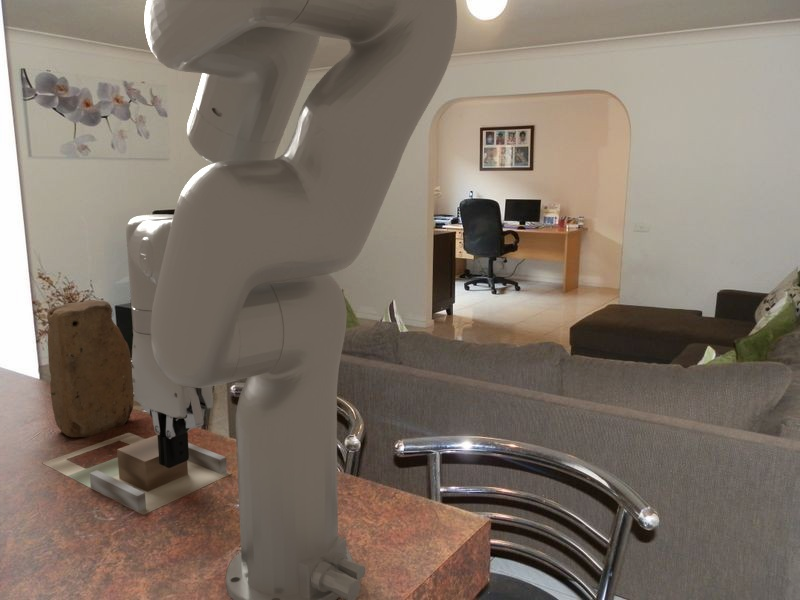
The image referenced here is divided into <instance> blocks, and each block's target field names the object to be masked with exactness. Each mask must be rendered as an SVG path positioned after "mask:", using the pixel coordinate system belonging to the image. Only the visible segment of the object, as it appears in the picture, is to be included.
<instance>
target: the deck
mask: <svg viewBox="0 0 800 600" xmlns="http://www.w3.org/2000/svg"><path fill="white" fill-rule="evenodd" d="M144 439H145V438H144V437H141V436H139V435H136V434H134V433H132V432H126V433H123V434H121V435H117V436H115V437H112V438H109V439H106V440H104V441H101V442H98V443H95V444H92V445H89V446H85V447H83V448H81V449H80V448H79V449H78V450H74V451H71V452H68V453H67V454H64V455H61V456H58V457H55V458H52V459H49V460H46V461H44V462H42V463H41V464H42V465H45V466H47V467H48V468H50V469H52V470H54V471H56V472H58V473H60V474H61V475H64V476H66V477H67V478H70V479H72V480H74V481H75V482H77V483H80V484H82V485H84V486H86V487H88V488H89V489H92V490H94V491H96V492H98V493H99V494H101V495H102V496H105V497H107V498H108V499H112V500H114V501H115V502H117V503H119V504H121V505H123V506H125V507H127V508H129V509H131V510H133V511H135V512H137V513H138V514H140V515H142V516H145V515H147V514H148V513H151V512H153V511H156V510H157V509H159V508H163V507H164V506H166V505H169V504H171V503H173V502H175V501H176V500H179V499H181V498H184V497H185V496H188V495H190V494H192V493H195V492H196V491H198V490H200V489H203V488H205V487H207V486H209V485H212V484H213V483H215V482H217V481H220V480H221V479H224V478H226V477H228V476H230V475H232V472H229V471H228V468H227V467H228V466H227V457H226V456H224V455H222V454H219V453H216V452H213V451H211V450H208V449H205V448H203V447H201V446H198V445H195V444H192V443H190V442H188V449H189V459H188V460H187V465H188V474H187V475H185V476H183V477H180V478H178V479H176V480H173V481H171V482H169V483H167V484H164V485H162V486H160V487H157V488H155V489H153V490H151V491H148V492H146V491H144V490H142V489H140V488H138V487H136V486H134V485H132V484H130V483H128V482H126V481H123V480H121V479H119V468H118V456H117V457H114V458H112V459H109V460H106V461H104V462H101V463H98V464H96V465H93V466H90V467H88V468H85V467H82V466H81V465H78V464H77V463H74V462H72V461H70V459H73V458H74V457H77V456H80V455H83V454H86V453H88V452H92V451H94V450H96V449H100V448H102V447H106V446H108V445H112V444H114V443H117V442H119V441H120V442H121V443H124V444H126V445H130V444H133V443H136V442H139V441H141V440H144Z"/></svg>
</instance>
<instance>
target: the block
mask: <svg viewBox="0 0 800 600" xmlns="http://www.w3.org/2000/svg"><path fill="white" fill-rule="evenodd" d="M112 314H113V308H112V306H111V304H110V303H109V302H108V301H105V300H97V299H88V300H84V301H81V302H78V301H77V302H70V303H65V304H62V305H57V306H54V307H51V308H50V309H48V311H47V314H46V320H47V323H48V326H49V327H48V330H47V353H48V354H47V356H48V357H47V358H48V367H49V374H50V387H49V388H50V398H51V404H52V411H53V416H54V420H55V423H56V426H57V428H58V429H59V430H60V431H61V432H62V433H63V434H64V435H66V436H67V437H70V438H87V437H91V436H95V435H97V434H100V433H103V432H107V431H109V430H112V429H115V428H119V427H121V426H124V425H125V424H126V423H127V421H128V420H130V418H131V414H132V412H133V409H134V401H135V400H134V399H135V396H134V390H133V379H132V356H131V351H130V348H129V344H128V342H127V341H126V340H125V338H124V336H123V334H122V332H121V330H120V328H119V326H117V325H116V323H115V322H114V320H113V317H112V316H113V315H112Z"/></svg>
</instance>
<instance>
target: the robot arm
mask: <svg viewBox="0 0 800 600" xmlns="http://www.w3.org/2000/svg"><path fill="white" fill-rule="evenodd" d="M144 8H145V9H144V29H145V36H146V39H147V44H148V46H149V48H150V51H151V52H152V54H153V55H154V57H155V58H156V60H157V61H158V62H159V63H160V64H162V65H163V66H165V67H166V68H168V69H171V70H174V71H178V72H185V73H194V74H195V73H196V74H201V77H200V81H199V85H198V87H197V91H196V95H195V99H194V102H193V105H192V108H191V113H190V115H189V118H188V121H187V126H186V127H187V128H186V133H187V138H188V141H189V143H190V145H191V146H192V148H193V150H194V151H195V153H197V154H198V155H199V156H200V157H201V158H202V159H204V160H206V161H207V162H208V163H209V165H206V166H205V167H202V168H201V169H200V170H199V171H197V172H196V173H195V174H194V175H193V176H192V177H191V178H190V179H189V180H188V182H187V183H186V184H185V185H184V187H183V189H182V190H181V193H180V195H179V197H178V199H177V202H176V205H175V209H174V213H173V214H169V213H166V214H161V213H160V214H142V215H137V216H134V217H132V218H131V219H130V220H129V221H128V222H127V224H126V229H125V230H126V233H125V234H126V248H127V251H126V252H127V262H128V263H127V264H128V277H129V278H128V281H129V293H130V294H129V296H130V307H131V322H132V334H133V336H132V345H131V346H132V349H131V365H132V379H133V395H134V399H135V401H136V402H137V403H138V404H139V405H141V409H143V410H144V411H145V412H146V413H147V414H149V416H150V417H151V418H152V424H153V425H152V426H153V429H154V432H155V434H156V435H158V451H159V464H160V465H163V466H165V467H167V468H171V467H174V466H176V465H178V464H181V463H183V462H185V461H187V460H188V459H189V449H188V443H189V434H188V433H189V432H191V430H192V429H196V428H198V427H201V426H203V425H204V424H205V423H204V417H203V413H202V410H203V411H204V410H205V411H207V410H211V409H212V408H213V405H214V404H213V403H214V397H213V395H214V394H213V387H214V386H219V385H224V384H229V383H232V382H236V381H240V380H245V379H246V380H245V382H244V384H243V387H242V390H241V391H240V395H239V398H238V401H237V406H236V411H235V413H236V414H235V443H236V444H235V445H236V462H237V463H236V466H237V469H236V471H237V485H238V486H237V489H238V490H237V491H238V492H237V493H238V508H239V509H238V511H239V515H238V516H239V530H240V531H239V534H240V536H239V537H240V551H239V552H238V553H237V554H236V555H234V557H232V560H231V561H230V562H229V564H228V566H227V568H226V571H225V572H226V573H225V583H226V584H225V585H226V590H227V593H228V595H229V596H230V598H231V599H232V600H338V599H339V598H341V599H344V600H356V599H357V598H358V597H359V595H360V593H361V589H362V585H361V581H362V580H363V578H364V577H365V574H366V570H367V568H366V566H364V565H363V564H361V563H358V562H356V561H354V558H353V556H352V554H351V552H350V551H349V550H348V548H347V538H344V537H343V536H340V535H339V523H338V522H339V521H338V520H339V519H338V518H339V517H338V515H339V513H338V512H339V511H338V509H339V505H338V500H339V499H338V498H339V497H338V440H337V439H338V438H337V437H338V435H337V434H338V433H337V430H338V412H337V411H338V405H337V404H338V382H339V381H338V380H339V369H340V363H341V356H342V351H343V347H344V343H345V335H346V329H347V317H348V315H347V313H348V312H347V304H346V303H347V302H346V299H345V296H344V292H343V291H342V288H341V287H340V285H339V284H338V282H337V281H336V279H335V278H334V277H333V275H331V274H334V273H337V272H340V271H342V270H344V269H346V268H348V267H349V266H351V265H352V264H353V263H354V262H355V261H356V259H357V258H358V257H359V255H360V253H361V252H362V250H363V248H364V247H365V244H366V242H367V240H368V238H369V236H370V233H371V231H372V229H373V227H374V224H375V222H376V220H377V217H378V215H379V213H380V210H381V208H382V205H383V204H384V200H385V199H386V196H387V194H388V191H389V189H390V187H391V185H392V182H393V179H394V178H395V175H396V173H397V171H398V167H399V166H400V162H401V160H402V157H403V156H404V155H403V154H404V153H405V150H406V149H407V146H408V143H409V141H410V139H411V137H412V135H413V134H414V131H415V130H416V128H417V126H418V124H419V122H420V120H421V118H422V116H423V115H424V113H425V111H426V110H427V108H428V107H429V104H430V103H431V101H432V99H433V97H434V96H435V93H436V92H437V90H438V88H439V86H440V84H441V83H442V80H443V78H444V77H445V73H446V72H447V69H448V66H449V63H450V60H451V57H452V55H453V54H452V53H453V50H454V47H455V46H454V45H455V41H456V36H457V29H458V28H457V27H458V9H457V0H146V3H145V7H144ZM320 37H323V38H324V37H325V38H330V39H336V40H342V41H348V43H349V44H350V49H349V51H348V53H347V54H346V55H345V56H343V58H341V59H340V60H339V61H338V62H337V63H336V64H334V65H333V66H331V68H330V69H329V70H328V71H327V72H326V73H325V74H324V75H323V76H322V78H320V79H319V81H318V82H317V83H316V85H314V87H313V89H312V90H311V91H310V93H308V95H307V97H306V100H305V101H304V102H303V104H302V107H301V110H300V112H299V116H298V119H297V122H296V127H295V129H294V132H293V134H292V137H291V139H290V141H289V145H288V146H287V148H286V149H285V152H283V154H281V155H280V156H278V157H276V154H277V151H278V148H279V147H280V144H281V141H282V139H283V136H284V135H285V130H286V128H287V127H288V126H287V125H288V123H289V122H290V121H289V120H290V119H291V116H292V113H293V110H294V108H295V106H296V103H297V100H298V98H299V96H300V93H301V90H302V88H303V86H304V82H305V80H306V78H307V75H308V72H309V71H310V67H311V66H312V62H313V60H314V58H315V54H316V51H317V49H318V46H319V42H320Z"/></svg>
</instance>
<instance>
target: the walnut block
mask: <svg viewBox="0 0 800 600" xmlns="http://www.w3.org/2000/svg"><path fill="white" fill-rule="evenodd" d="M158 435H159V434H156V435H152V436H150V437H147V438H144V440H141V441H139V442H136V443H133V444H130V445H129V444H127V445H126V446H122V447H120V448H117V449H116V452H117V457H118V468H119V479H121V480H123V481H126V482H128V483H130V484H132V485H134V486H136V487H138V488H140V489H142V490H144V491H146V492H148V491H151V490H153V489H155V488H157V487H160V486H162V485H164V484H167V483H169V482H171V481H173V480H176V479H178V478H180V477H183V476H185V475H187V474H188V465H187V461H185V462H183V463H181V464H178V465H176V466H174V467H171V468H167V467H165V466H163V465H160V464H159V451H158Z"/></svg>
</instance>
